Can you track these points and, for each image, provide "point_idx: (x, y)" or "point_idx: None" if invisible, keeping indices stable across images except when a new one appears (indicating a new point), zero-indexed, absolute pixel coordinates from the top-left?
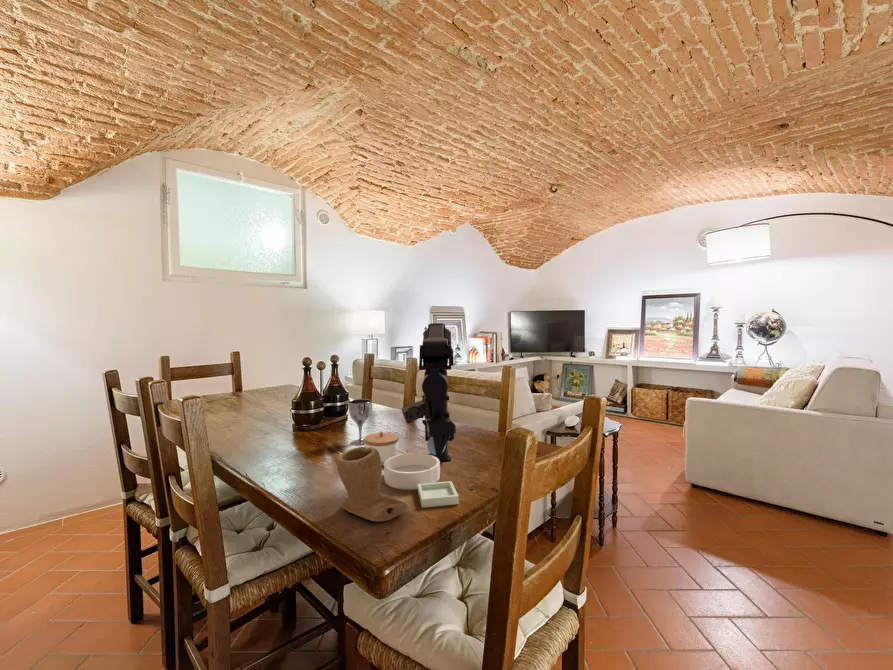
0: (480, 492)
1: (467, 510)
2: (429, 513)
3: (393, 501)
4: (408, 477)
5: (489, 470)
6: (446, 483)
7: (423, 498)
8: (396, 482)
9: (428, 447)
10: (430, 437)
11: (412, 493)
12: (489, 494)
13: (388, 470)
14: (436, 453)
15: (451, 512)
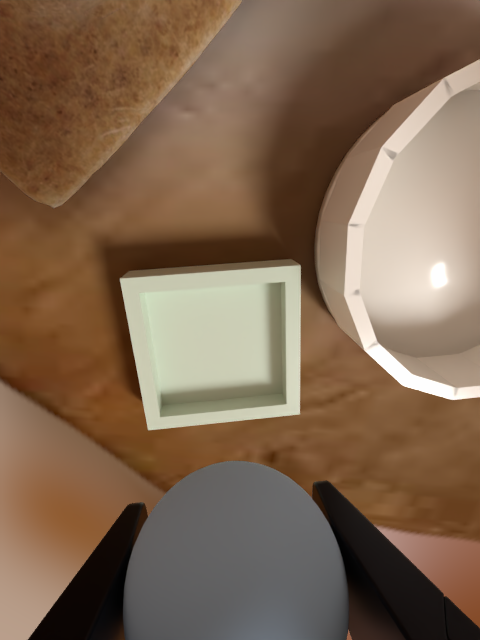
0: None
1: (102, 432)
2: (76, 299)
3: (10, 112)
4: (339, 219)
5: (411, 522)
6: (285, 392)
7: (130, 287)
8: (359, 147)
9: (184, 505)
10: (410, 585)
11: (277, 234)
12: None
13: (451, 74)
14: (110, 533)
15: (86, 380)
